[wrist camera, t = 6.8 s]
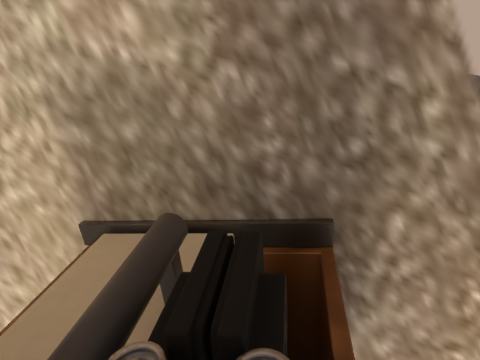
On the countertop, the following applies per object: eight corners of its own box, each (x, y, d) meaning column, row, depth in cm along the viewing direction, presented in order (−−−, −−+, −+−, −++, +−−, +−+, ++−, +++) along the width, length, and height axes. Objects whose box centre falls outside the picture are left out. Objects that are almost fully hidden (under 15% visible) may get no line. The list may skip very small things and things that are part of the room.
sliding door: (226, 170, 17) (92, 422, 6) (235, 244, 19) (146, 551, 7) (86, 175, 19) (-245, 383, 7) (106, 243, 20) (-134, 498, 9)
